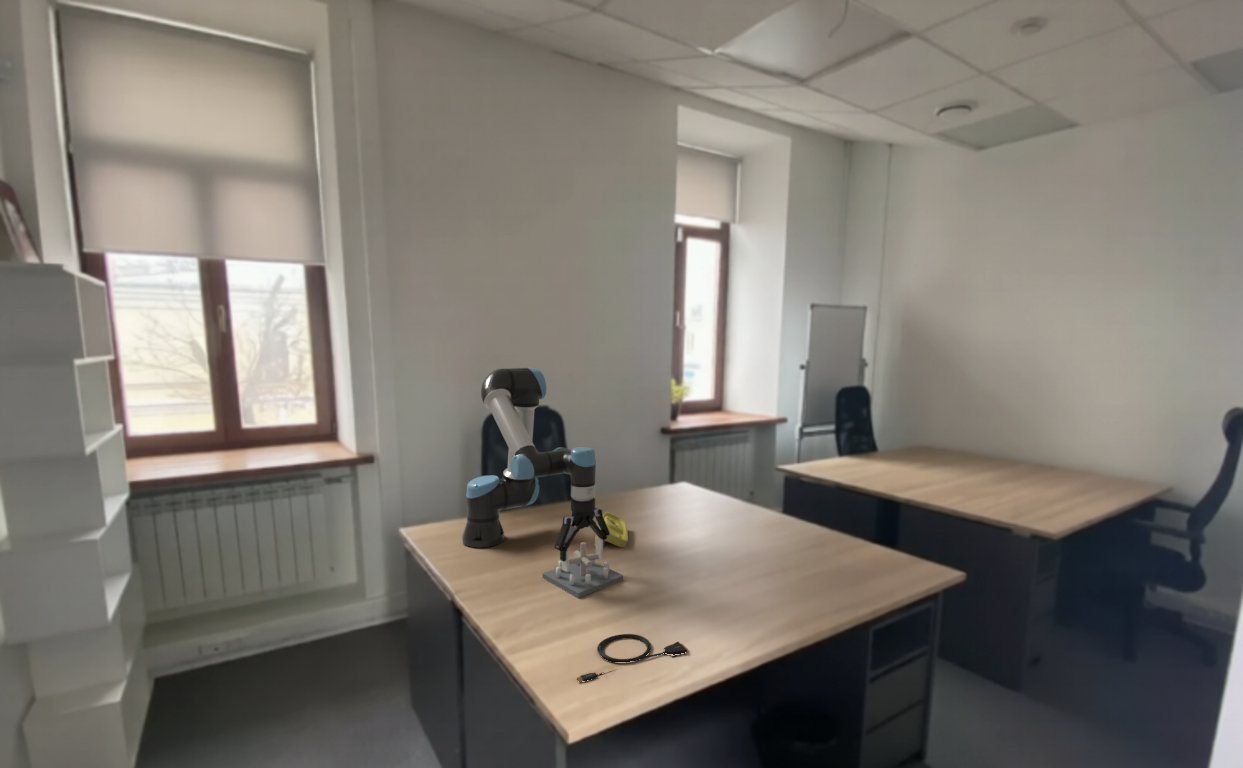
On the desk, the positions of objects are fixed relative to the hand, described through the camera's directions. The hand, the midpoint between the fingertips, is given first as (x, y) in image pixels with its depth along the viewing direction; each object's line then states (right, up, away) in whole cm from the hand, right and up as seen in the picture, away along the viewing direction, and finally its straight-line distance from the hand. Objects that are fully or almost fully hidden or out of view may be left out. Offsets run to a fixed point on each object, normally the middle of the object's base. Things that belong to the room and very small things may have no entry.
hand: (582, 564), depth 169 cm
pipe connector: (0, -3, 0) cm, 3 cm away
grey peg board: (0, -5, 0) cm, 5 cm away
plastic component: (+9, -2, +35) cm, 36 cm away
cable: (+13, -9, -39) cm, 42 cm away
